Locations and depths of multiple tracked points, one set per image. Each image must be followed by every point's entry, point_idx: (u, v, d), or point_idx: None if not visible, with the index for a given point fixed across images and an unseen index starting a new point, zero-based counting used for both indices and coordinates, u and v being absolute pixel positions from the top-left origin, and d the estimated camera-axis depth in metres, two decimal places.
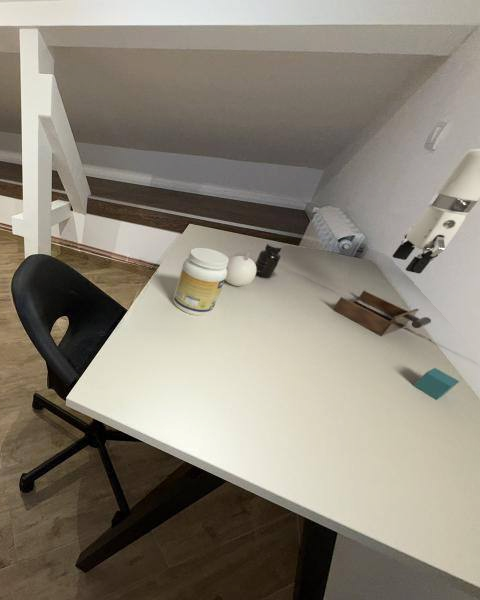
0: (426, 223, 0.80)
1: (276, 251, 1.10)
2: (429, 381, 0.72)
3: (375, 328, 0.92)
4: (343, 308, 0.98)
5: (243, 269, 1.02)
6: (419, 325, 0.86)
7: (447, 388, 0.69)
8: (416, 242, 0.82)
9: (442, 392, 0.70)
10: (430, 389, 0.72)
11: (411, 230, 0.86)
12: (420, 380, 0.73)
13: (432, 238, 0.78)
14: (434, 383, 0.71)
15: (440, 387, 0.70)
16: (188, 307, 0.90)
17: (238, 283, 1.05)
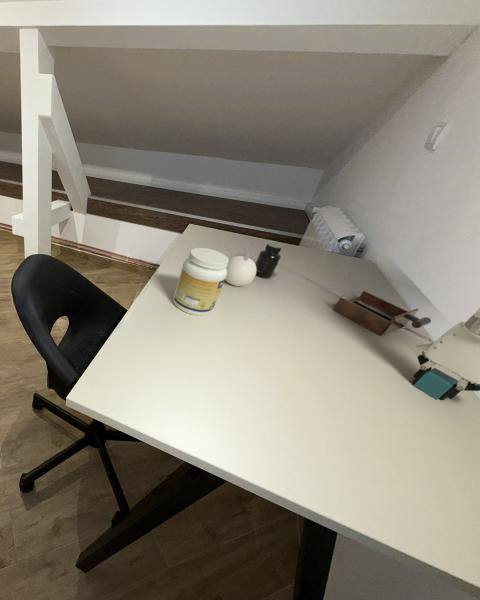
0: (476, 355, 0.65)
1: (276, 251, 1.10)
2: (429, 381, 0.72)
3: (375, 328, 0.92)
4: (343, 308, 0.98)
5: (243, 269, 1.02)
6: (419, 325, 0.86)
7: (447, 388, 0.69)
8: (465, 374, 0.67)
9: (442, 392, 0.70)
10: (430, 389, 0.72)
11: (436, 352, 0.70)
12: (420, 380, 0.73)
13: None
14: (434, 383, 0.71)
15: (440, 387, 0.70)
16: (188, 307, 0.90)
17: (238, 283, 1.05)
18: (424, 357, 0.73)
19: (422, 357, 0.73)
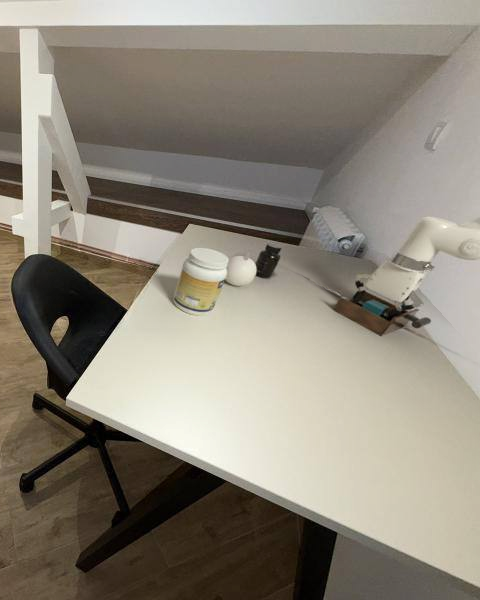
0: (397, 281, 0.89)
1: (276, 251, 1.10)
2: (368, 308, 0.96)
3: (375, 328, 0.92)
4: (343, 308, 0.98)
5: (243, 269, 1.02)
6: (419, 325, 0.86)
7: (379, 311, 0.94)
8: (391, 296, 0.91)
9: None
10: None
11: (372, 282, 0.94)
12: None
13: (408, 294, 0.88)
14: (371, 309, 0.95)
15: (375, 311, 0.95)
16: (188, 307, 0.90)
17: (238, 283, 1.05)
18: (360, 283, 0.98)
19: (358, 282, 0.98)
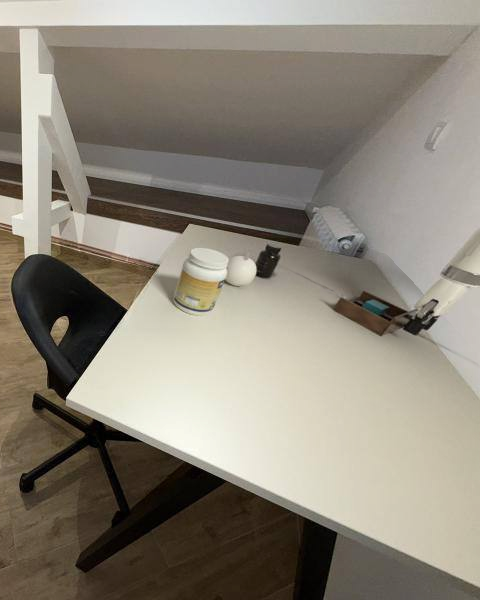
0: (462, 296, 0.81)
1: (276, 251, 1.10)
2: (368, 308, 0.96)
3: (375, 328, 0.92)
4: (343, 308, 0.98)
5: (243, 269, 1.02)
6: None
7: (379, 311, 0.94)
8: (448, 310, 0.84)
9: None
10: None
11: (443, 309, 0.81)
12: None
13: None
14: (371, 309, 0.95)
15: (375, 311, 0.95)
16: (188, 307, 0.90)
17: (238, 283, 1.05)
18: None
19: (425, 317, 0.83)
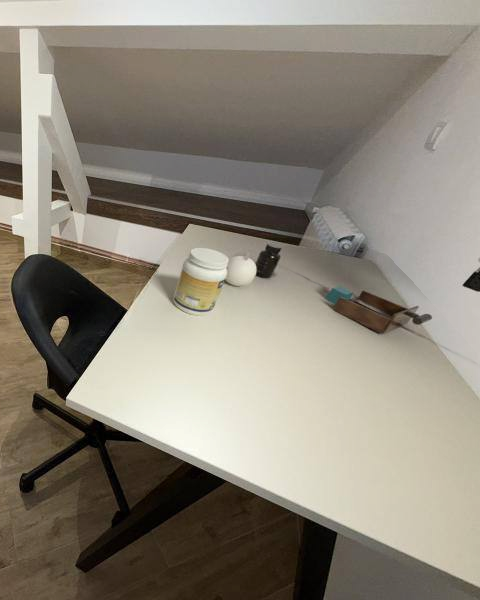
0: None
1: (276, 251, 1.10)
2: (331, 297, 1.05)
3: (376, 326, 0.91)
4: (343, 308, 0.98)
5: (243, 269, 1.02)
6: (420, 321, 0.85)
7: (334, 289, 1.04)
8: None
9: (338, 291, 1.03)
10: (338, 297, 1.03)
11: None
12: (332, 302, 1.05)
13: None
14: (332, 295, 1.04)
15: (334, 292, 1.04)
16: (188, 307, 0.90)
17: (238, 283, 1.05)
18: None
19: None
